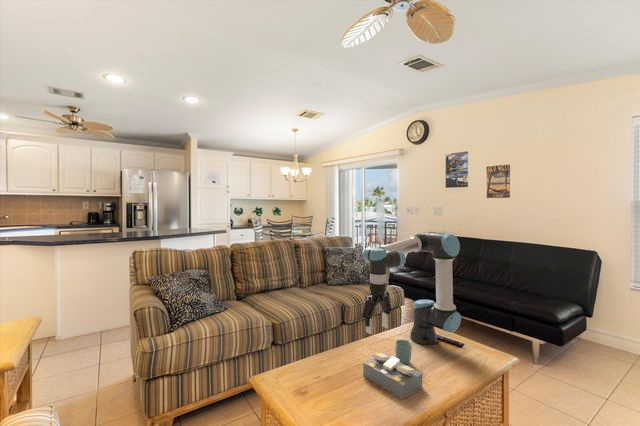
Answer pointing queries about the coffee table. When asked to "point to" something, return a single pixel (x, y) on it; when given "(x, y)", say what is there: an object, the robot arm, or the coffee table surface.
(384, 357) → the rocker
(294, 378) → the coffee table surface
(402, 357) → the cup
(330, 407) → the coffee table surface
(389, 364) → the rocker
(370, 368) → the console
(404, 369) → the block
